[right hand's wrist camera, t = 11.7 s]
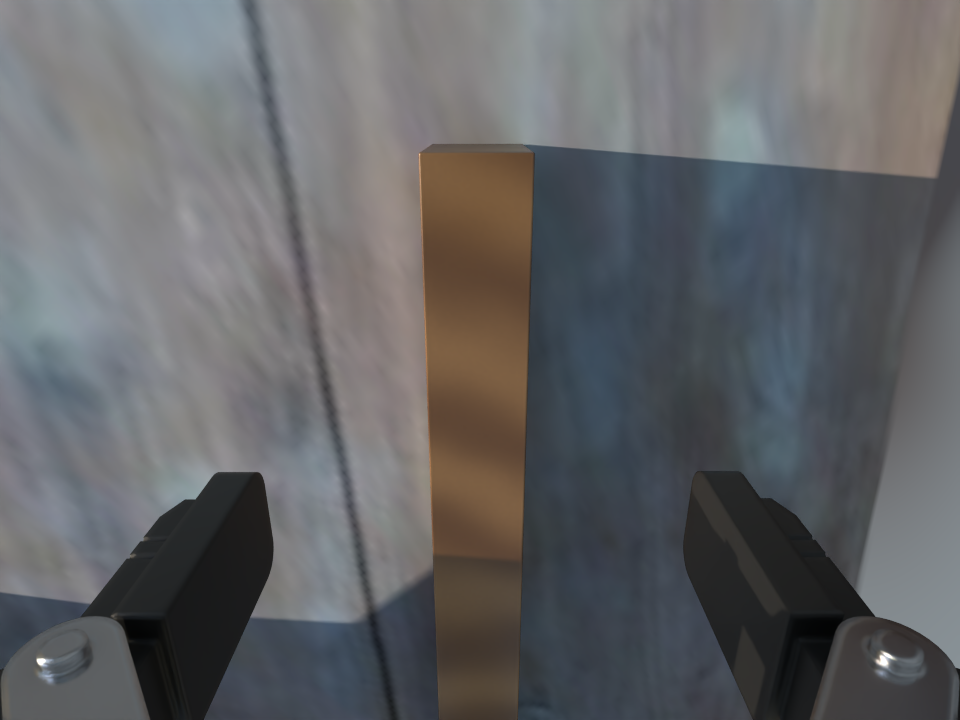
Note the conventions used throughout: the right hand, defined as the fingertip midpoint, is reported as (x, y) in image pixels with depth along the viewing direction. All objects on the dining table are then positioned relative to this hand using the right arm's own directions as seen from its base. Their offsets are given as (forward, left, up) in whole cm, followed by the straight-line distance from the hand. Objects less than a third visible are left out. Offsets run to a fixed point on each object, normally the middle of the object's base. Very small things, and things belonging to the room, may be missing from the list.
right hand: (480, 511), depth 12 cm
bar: (+26, +19, -22) cm, 39 cm away
